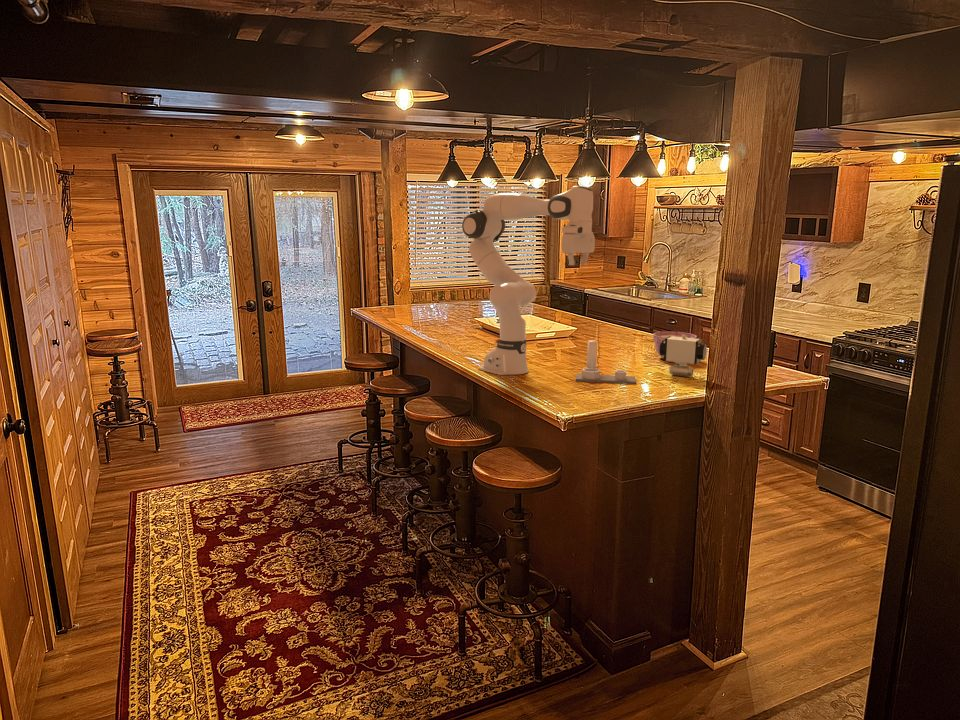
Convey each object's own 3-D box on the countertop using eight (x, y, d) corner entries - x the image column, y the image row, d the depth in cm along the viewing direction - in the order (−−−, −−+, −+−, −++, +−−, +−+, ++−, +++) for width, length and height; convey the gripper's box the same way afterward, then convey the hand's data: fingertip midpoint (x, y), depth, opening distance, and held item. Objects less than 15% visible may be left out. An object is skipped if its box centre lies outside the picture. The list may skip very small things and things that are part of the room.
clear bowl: (643, 358, 316) (644, 334, 313) (664, 352, 329) (666, 330, 327) (682, 365, 302) (683, 340, 299) (702, 358, 316) (704, 335, 313)
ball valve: (705, 376, 281) (708, 335, 277) (700, 380, 274) (704, 338, 270) (663, 371, 290) (665, 331, 286) (657, 375, 283) (660, 334, 279)
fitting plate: (575, 381, 271) (576, 371, 270) (576, 376, 280) (577, 367, 279) (635, 384, 267) (636, 374, 266) (634, 378, 276) (635, 369, 275)
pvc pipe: (584, 373, 286) (586, 341, 283) (589, 371, 289) (590, 339, 286) (593, 374, 283) (594, 342, 280) (597, 372, 286) (599, 340, 283)
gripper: (585, 228, 267) (583, 263, 270) (559, 228, 251) (557, 264, 254) (599, 229, 263) (597, 264, 266) (574, 228, 247) (571, 266, 250)
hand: (577, 264), depth 260 cm, fingers open, 8 cm apart
